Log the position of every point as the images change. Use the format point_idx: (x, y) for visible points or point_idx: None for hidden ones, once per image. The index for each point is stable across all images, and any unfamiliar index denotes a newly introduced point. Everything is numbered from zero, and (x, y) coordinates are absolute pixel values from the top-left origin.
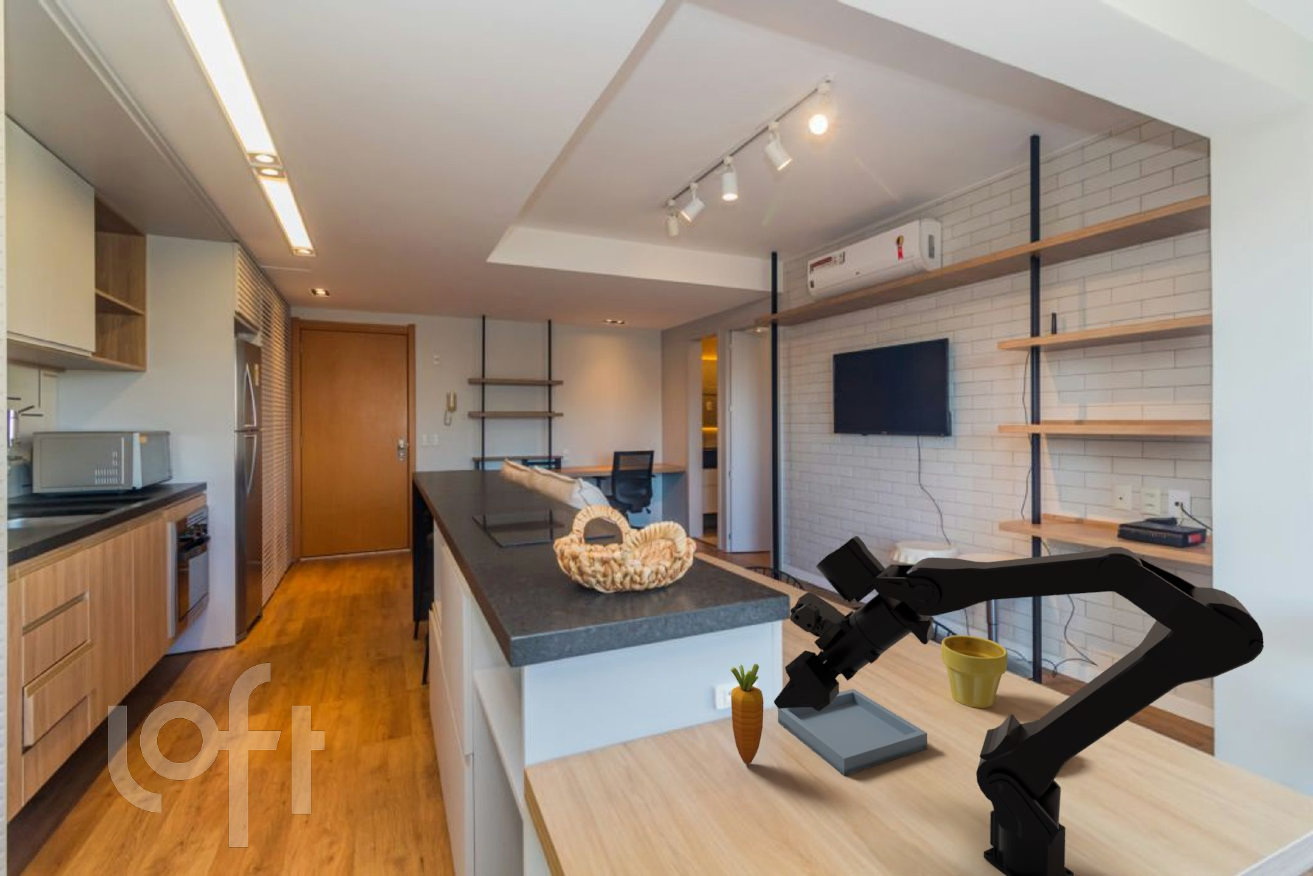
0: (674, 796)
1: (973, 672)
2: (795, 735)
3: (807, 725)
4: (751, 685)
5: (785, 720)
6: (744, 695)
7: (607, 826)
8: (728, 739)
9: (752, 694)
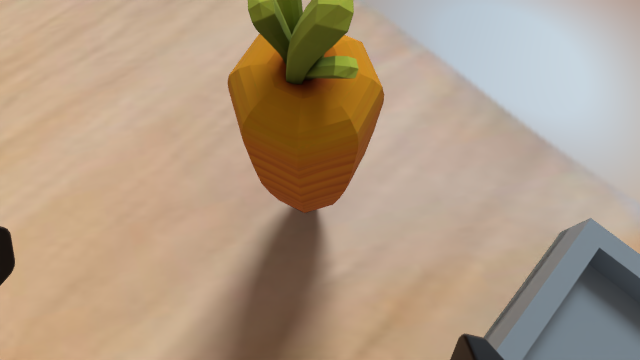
0: (135, 86)
1: None
2: (513, 298)
3: (531, 340)
4: (297, 72)
5: (554, 254)
6: (247, 73)
7: (20, 13)
8: (403, 129)
9: (264, 101)
